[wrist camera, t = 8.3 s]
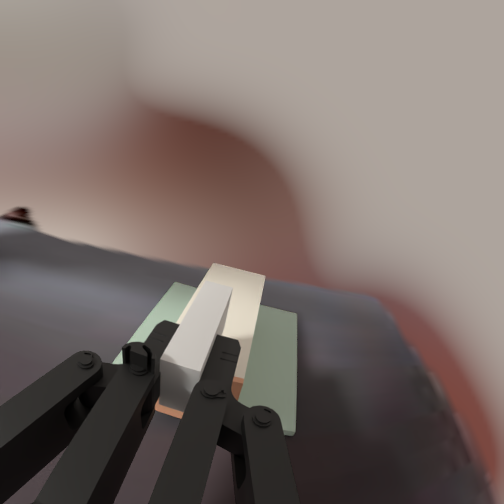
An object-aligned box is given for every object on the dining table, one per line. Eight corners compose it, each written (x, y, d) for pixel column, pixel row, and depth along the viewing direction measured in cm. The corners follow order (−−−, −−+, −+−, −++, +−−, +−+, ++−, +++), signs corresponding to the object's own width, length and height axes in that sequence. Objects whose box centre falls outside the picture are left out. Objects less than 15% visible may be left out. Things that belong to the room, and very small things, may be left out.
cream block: (154, 357, 15) (213, 262, 28) (154, 409, 17) (205, 306, 30) (243, 383, 15) (265, 275, 28) (227, 431, 17) (253, 319, 30)
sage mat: (104, 380, 19) (103, 375, 18) (174, 286, 33) (174, 281, 33) (292, 436, 18) (295, 431, 18) (295, 318, 33) (296, 313, 33)
